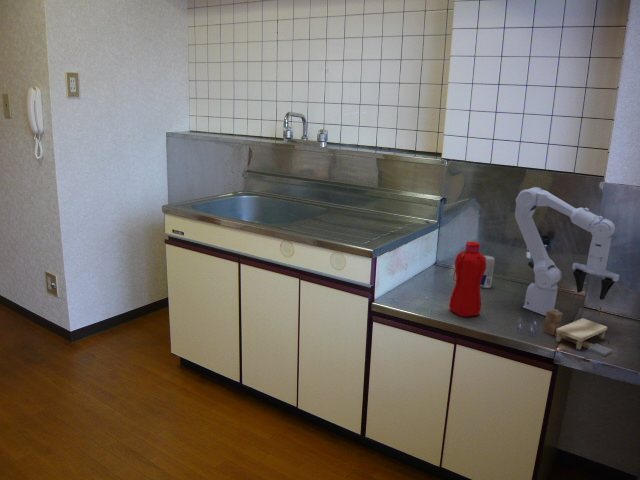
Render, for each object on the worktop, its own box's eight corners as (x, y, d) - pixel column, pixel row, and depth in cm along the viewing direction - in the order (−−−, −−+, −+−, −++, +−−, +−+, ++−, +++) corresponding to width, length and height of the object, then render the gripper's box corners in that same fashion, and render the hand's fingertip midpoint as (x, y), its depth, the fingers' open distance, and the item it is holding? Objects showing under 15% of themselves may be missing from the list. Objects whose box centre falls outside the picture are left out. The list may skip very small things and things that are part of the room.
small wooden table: (554, 340, 170) (556, 328, 169) (580, 329, 179) (582, 318, 178) (579, 350, 164) (581, 338, 162) (605, 338, 173) (607, 326, 172)
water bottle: (441, 309, 190) (449, 240, 183) (466, 305, 194) (475, 238, 188) (457, 319, 182) (466, 247, 175) (483, 315, 186) (493, 245, 180)
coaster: (586, 351, 165) (587, 347, 164) (595, 347, 168) (596, 343, 167) (603, 358, 161) (604, 353, 160) (611, 354, 164) (612, 349, 163)
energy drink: (476, 283, 219) (479, 254, 216) (489, 284, 218) (493, 255, 215) (477, 287, 214) (481, 258, 211) (491, 289, 213) (496, 259, 210)
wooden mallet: (543, 331, 176) (546, 311, 174) (549, 329, 178) (552, 309, 176) (588, 349, 165) (592, 328, 163) (593, 346, 167) (598, 325, 165)
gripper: (570, 252, 182) (563, 290, 185) (614, 264, 171) (606, 304, 174) (581, 249, 186) (574, 287, 190) (625, 260, 175) (617, 300, 179)
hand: (590, 295), depth 182 cm, fingers open, 7 cm apart
